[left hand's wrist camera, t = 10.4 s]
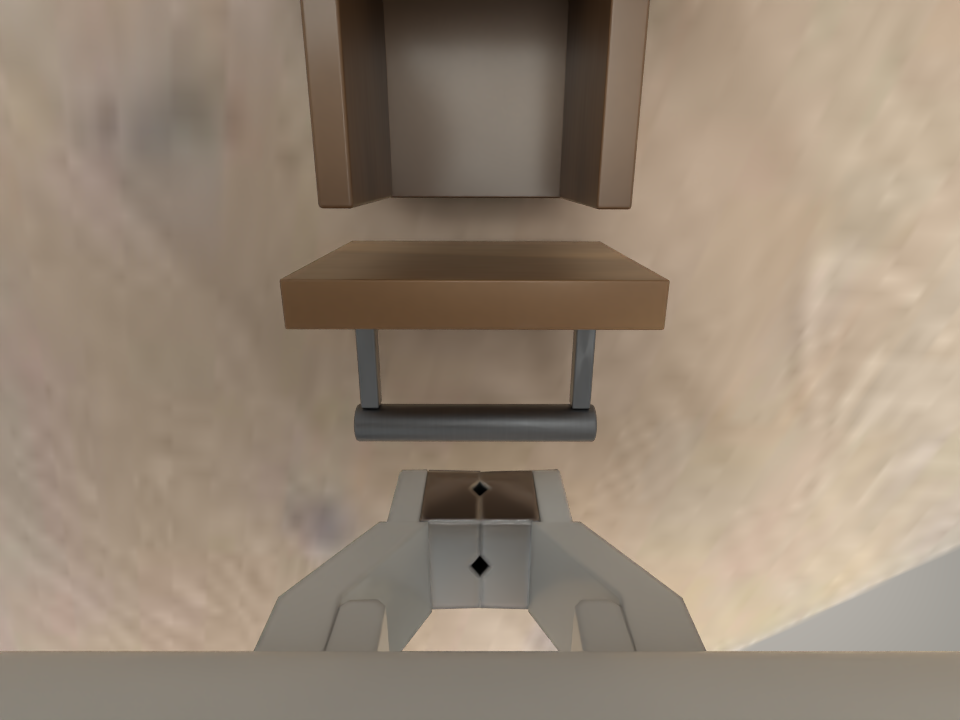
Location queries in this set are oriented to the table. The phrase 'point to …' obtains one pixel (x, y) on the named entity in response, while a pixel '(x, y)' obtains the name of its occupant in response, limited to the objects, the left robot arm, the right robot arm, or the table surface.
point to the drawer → (475, 186)
